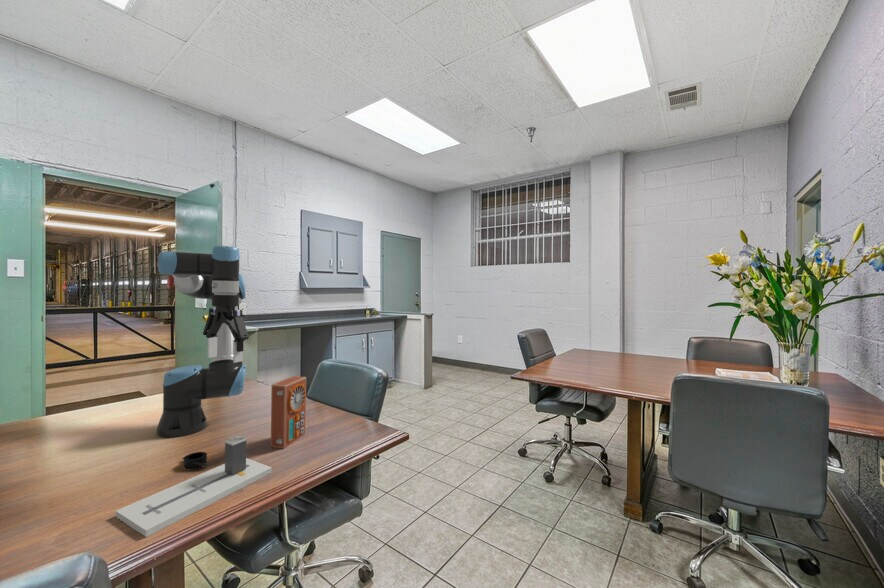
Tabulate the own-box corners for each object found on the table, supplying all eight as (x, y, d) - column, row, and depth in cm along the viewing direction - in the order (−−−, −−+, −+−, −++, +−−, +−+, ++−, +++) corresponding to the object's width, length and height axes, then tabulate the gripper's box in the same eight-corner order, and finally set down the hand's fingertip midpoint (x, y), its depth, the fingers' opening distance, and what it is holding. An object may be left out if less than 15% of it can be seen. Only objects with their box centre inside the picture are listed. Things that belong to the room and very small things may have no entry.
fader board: (115, 517, 83) (115, 510, 83) (241, 461, 111) (241, 455, 111) (146, 537, 77) (146, 529, 77) (271, 472, 105) (271, 467, 105)
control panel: (309, 432, 133) (283, 450, 119) (292, 431, 135) (265, 448, 120) (310, 376, 133) (284, 386, 118) (293, 374, 134) (266, 385, 120)
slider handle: (224, 471, 101) (224, 440, 101) (238, 465, 105) (238, 435, 105) (232, 475, 99) (232, 443, 99) (246, 468, 103) (246, 438, 103)
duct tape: (177, 476, 102) (177, 466, 102) (182, 461, 111) (182, 452, 111) (209, 470, 106) (209, 460, 106) (211, 456, 114) (211, 447, 114)
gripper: (191, 293, 117) (190, 357, 118) (238, 295, 106) (237, 366, 107) (214, 293, 124) (213, 353, 125) (261, 295, 113) (260, 361, 113)
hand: (224, 359), depth 116 cm, fingers open, 13 cm apart
